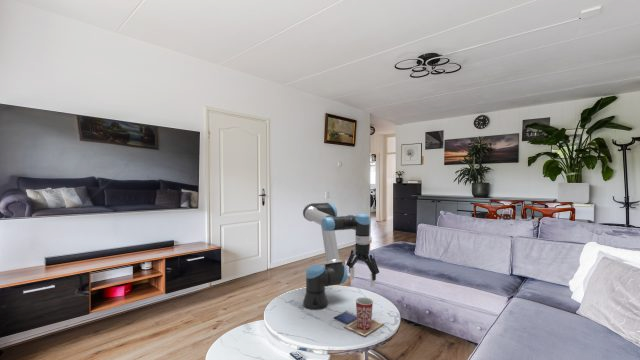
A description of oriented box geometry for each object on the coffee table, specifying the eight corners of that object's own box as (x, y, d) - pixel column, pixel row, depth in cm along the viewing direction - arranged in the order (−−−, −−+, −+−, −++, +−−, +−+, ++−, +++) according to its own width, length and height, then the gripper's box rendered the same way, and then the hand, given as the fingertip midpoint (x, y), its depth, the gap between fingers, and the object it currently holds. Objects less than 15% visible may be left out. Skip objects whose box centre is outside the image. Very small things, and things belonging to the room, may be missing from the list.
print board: (344, 328, 150) (344, 326, 150) (363, 317, 162) (363, 315, 162) (364, 337, 141) (364, 335, 141) (383, 325, 153) (383, 323, 153)
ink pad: (333, 318, 160) (333, 317, 160) (344, 313, 167) (344, 311, 167) (347, 325, 153) (347, 323, 153) (358, 318, 160) (358, 317, 160)
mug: (373, 331, 145) (373, 304, 145) (355, 330, 146) (355, 303, 146) (372, 320, 157) (372, 295, 158) (355, 318, 159) (355, 294, 159)
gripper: (340, 240, 160) (339, 278, 161) (378, 248, 143) (377, 291, 143) (348, 238, 166) (348, 275, 166) (386, 246, 148) (385, 287, 148)
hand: (362, 282), depth 154 cm, fingers open, 13 cm apart
